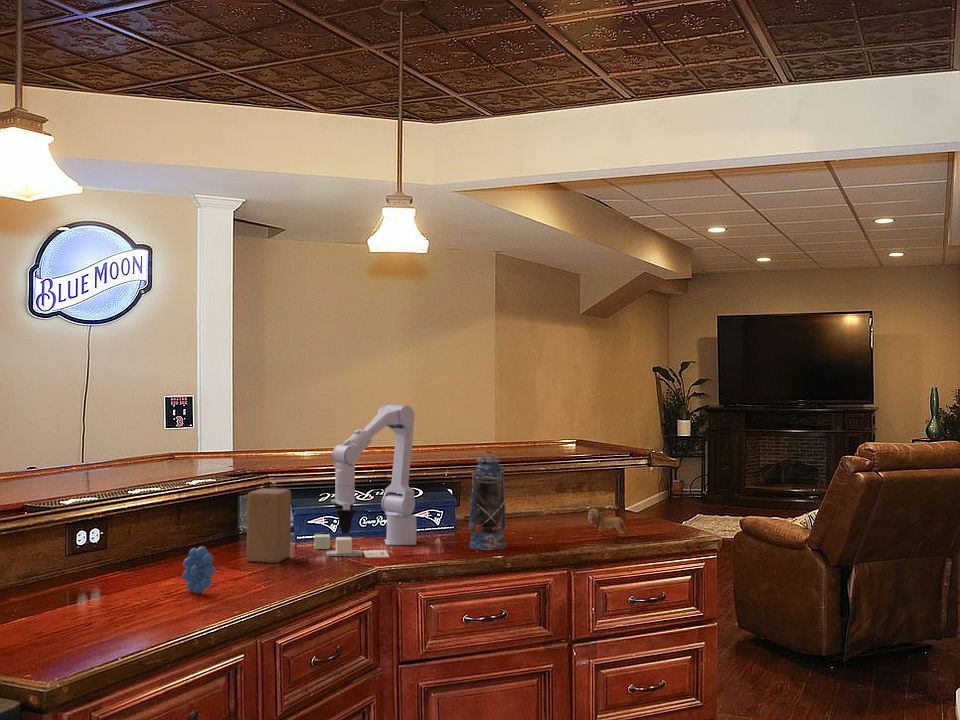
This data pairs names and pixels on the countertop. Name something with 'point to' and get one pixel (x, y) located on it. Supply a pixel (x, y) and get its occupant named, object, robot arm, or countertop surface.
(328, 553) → the base brick
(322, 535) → the pale green cube
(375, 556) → the page
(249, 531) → the wooden block
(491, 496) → the lantern
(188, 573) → the grapes
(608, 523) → the lion figurine
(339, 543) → the brick
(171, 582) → the countertop surface
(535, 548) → the countertop surface
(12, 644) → the countertop surface
